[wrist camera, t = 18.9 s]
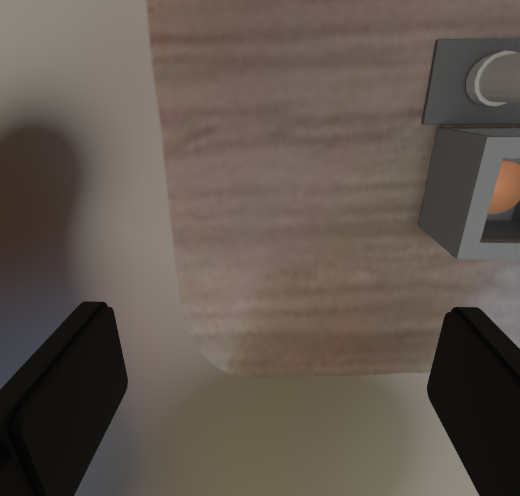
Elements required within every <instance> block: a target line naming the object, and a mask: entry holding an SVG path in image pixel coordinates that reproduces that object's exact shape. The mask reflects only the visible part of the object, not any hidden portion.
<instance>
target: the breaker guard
mask: <svg viewBox="0 0 520 496" xmlns="http://www.w3.org/2000/svg"><path fill="white" fill-rule="evenodd" d="M502 160H507V161H511V162H514V163H517V164H519V165H520V128H437V131H436V136H435V141H434V147H433V152H432V157H431V162H430V167H429V173H428V178H427V183H426V188H425V193H424V199H423V204H422V209H421V214H420V219H419V225H418V226H419V227H420V228H422V229H423V230H424V231H425V232H426V233H427V234H428V235H430V236H431V237H432V238H433V239H434V240H435V241H436V242H438V243H439V244H440V245H441V246H442V247H443V248H444V249H446V250H447V251H448V252H449V253H450V254H451V255H452V256H454V257H455V258H456V259H474V260H520V201H519V202H518V203H517V204H516V205H515V206H513V207H512V208H510V209H509V210H507V211H505V212H502V213H498V214H488V211H489V207H490V204H491V200H492V196H493V193H494V189H495V185H496V182H497V178H498V174H499V171H500V167H501V163H502Z"/></svg>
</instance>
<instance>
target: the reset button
mask: <svg viewBox="0 0 520 496" xmlns="http://www.w3.org/2000/svg"><path fill="white" fill-rule="evenodd" d="M519 201H520V165H519V164H517V163H514V162H511V161H507V160H502V163H501V167H500V171H499V174H498V178H497V182H496V185H495V189H494V193H493V196H492V200H491V204H490V207H489V211H488V214H498V213H502V212H505V211H507V210H509V209H510V208H512V207H513V206H515V205H516V204H517V203H518V202H519Z"/></svg>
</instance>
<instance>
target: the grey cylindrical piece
mask: <svg viewBox="0 0 520 496" xmlns="http://www.w3.org/2000/svg"><path fill="white" fill-rule="evenodd" d="M466 92H467V94H468V96H469V97H470V99H471V100H472V101H474V102H475V103H477V104H483V105H488V106H499V105H502V104H506V103H520V52H519V53H517V52H513V51H502V52H499V53H495V54H492V55H490V56H487V57H484V58H483V59H481V60H480V61H479V62H477V63H476V64H475V65H474V66H473V68H472V69H471V71H470V72H469V74H468V77H467V80H466Z"/></svg>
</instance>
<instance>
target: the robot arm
mask: <svg viewBox="0 0 520 496" xmlns="http://www.w3.org/2000/svg"><path fill="white" fill-rule="evenodd" d="M127 384H128V378H127V373H126V369H125V364H124V359H123V354H122V349H121V344H120V339H119V335H118V330H117V325H116V320H115V316H114V311H113V309H112V308H111V307H108V306H107V304H106V303H105V302H82V303H81V304H80V305H79V306H78V307H77V308H76V309H75V310H74V311H73V312H72V313H71V314H70V315H69V316H68V318H67V319H66V320H65V321H64V322H63V323H62V324H61V325H60V326H59V327H58V328H57V329H56V330H55V332H54V333H53V334H52V335H51V336H50V337H49V338H48V339H47V340H46V341H45V342H44V343H43V344H42V345H41V347H40V348H39V349H38V350H37V351H36V352H35V353H34V354H33V355H32V356H31V357H30V358H29V359H28V360H27V361H26V363H25V364H24V365H23V366H22V367H21V368H20V369H19V370H18V371H17V372H16V373H15V374H14V375H13V376H12V378H11V379H10V380H9V381H8V382H7V383H6V384H5V385H4V386H3V387H2V388H1V390H0V496H74V494H75V492H76V491H77V489H78V486H79V485H80V483H81V480H82V478H83V476H84V474H85V473H86V470H87V468H88V466H89V464H90V462H91V460H92V458H93V456H94V454H95V452H96V450H97V448H98V446H99V444H100V442H101V440H102V438H103V436H104V434H105V432H106V430H107V428H108V426H109V424H110V422H111V420H112V418H113V416H114V414H115V412H116V410H117V408H118V406H119V404H120V402H121V400H122V398H123V396H124V394H125V392H126V389H127ZM427 392H428V397H429V399H430V401H431V403H432V405H433V407H434V409H435V411H436V413H437V415H438V417H439V419H440V421H441V423H442V425H443V426H444V428H445V430H446V432H447V434H448V436H449V438H450V440H451V442H452V444H453V445H454V447H455V449H456V451H457V453H458V455H459V457H460V459H461V461H462V463H463V465H464V467H465V469H466V471H467V472H468V475H469V476H470V478H471V480H472V482H473V484H474V486H475V488H476V490H477V492H478V493H479V495H480V496H520V349H519V348H518V347H517V346H516V345H515V344H514V343H513V342H512V341H511V340H510V339H509V338H508V337H507V336H506V335H505V334H504V333H503V332H502V331H501V330H500V329H499V327H498V326H497V325H496V324H495V323H494V322H493V321H492V320H491V319H490V318H489V317H488V316H487V315H486V314H485V313H484V312H483V311H482V310H481V309H479V308H476V307H455V308H453V309H452V310H451V312H448V313H446V315H445V317H444V321H443V325H442V329H441V333H440V337H439V341H438V345H437V349H436V353H435V357H434V361H433V365H432V369H431V373H430V376H429V381H428V385H427Z"/></svg>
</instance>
